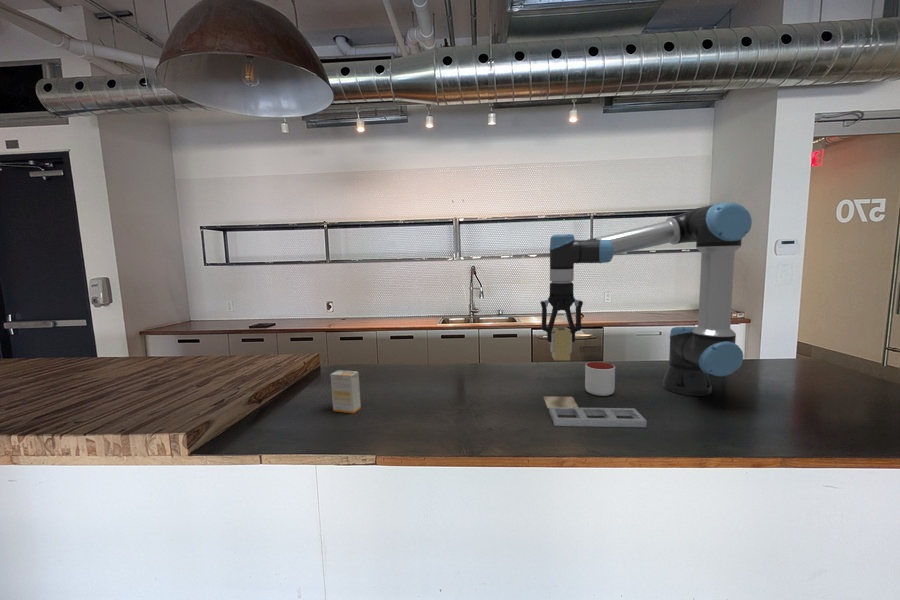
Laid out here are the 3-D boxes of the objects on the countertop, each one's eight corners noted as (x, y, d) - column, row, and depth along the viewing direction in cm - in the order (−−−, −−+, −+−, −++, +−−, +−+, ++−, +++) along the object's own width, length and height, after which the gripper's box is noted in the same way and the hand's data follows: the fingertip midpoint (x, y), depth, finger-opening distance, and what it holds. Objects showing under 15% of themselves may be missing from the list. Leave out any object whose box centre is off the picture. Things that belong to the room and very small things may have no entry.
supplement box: (361, 408, 129) (359, 371, 127) (353, 414, 124) (351, 375, 123) (340, 406, 132) (338, 369, 130) (332, 411, 127) (329, 373, 126)
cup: (617, 397, 132) (618, 370, 131) (587, 396, 134) (587, 369, 133) (611, 388, 142) (611, 362, 141) (583, 386, 144) (583, 361, 143)
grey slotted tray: (634, 414, 119) (634, 408, 118) (646, 427, 110) (646, 420, 109) (549, 413, 121) (549, 407, 121) (554, 425, 112) (554, 419, 112)
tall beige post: (566, 356, 129) (567, 326, 128) (570, 360, 124) (570, 329, 123) (551, 356, 130) (552, 326, 129) (554, 360, 125) (554, 329, 124)
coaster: (572, 397, 133) (572, 396, 133) (579, 409, 124) (579, 408, 123) (543, 397, 134) (543, 396, 134) (547, 408, 125) (547, 407, 124)
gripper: (586, 280, 127) (585, 348, 130) (532, 281, 129) (532, 348, 131) (593, 282, 120) (591, 354, 122) (534, 283, 121) (534, 354, 124)
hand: (560, 351), depth 127 cm, fingers closed on tall beige post, 5 cm apart
